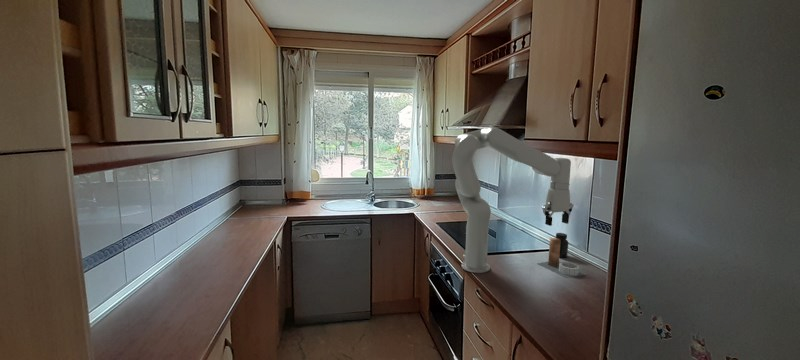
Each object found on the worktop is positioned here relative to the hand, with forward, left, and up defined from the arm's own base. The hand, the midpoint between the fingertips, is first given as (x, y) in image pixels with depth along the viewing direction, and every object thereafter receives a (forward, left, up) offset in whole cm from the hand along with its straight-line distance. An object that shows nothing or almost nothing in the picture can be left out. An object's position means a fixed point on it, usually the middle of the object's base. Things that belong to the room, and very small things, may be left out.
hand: (556, 224), depth 156 cm
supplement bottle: (-8, +12, -20) cm, 25 cm away
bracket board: (+4, 0, -20) cm, 21 cm away
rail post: (0, 0, -19) cm, 19 cm away
